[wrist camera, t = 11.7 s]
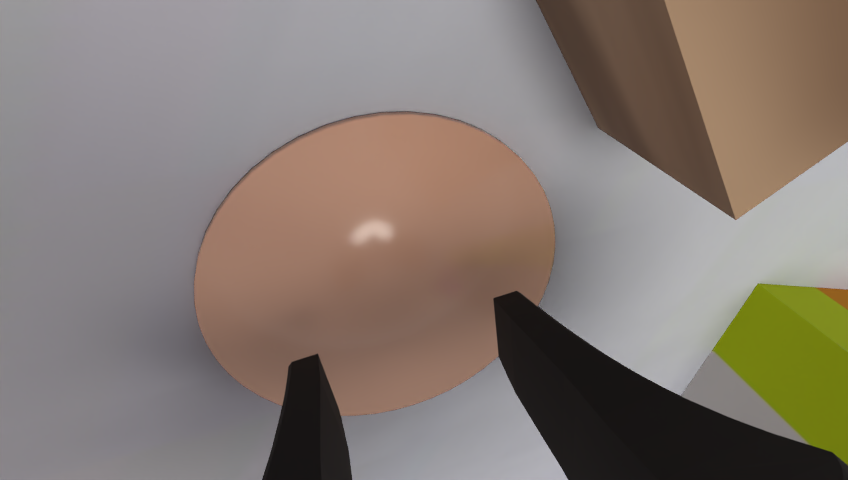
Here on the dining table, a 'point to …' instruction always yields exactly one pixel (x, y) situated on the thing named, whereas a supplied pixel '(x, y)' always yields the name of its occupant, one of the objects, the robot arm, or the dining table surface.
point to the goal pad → (372, 259)
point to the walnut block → (713, 86)
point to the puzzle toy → (783, 366)
